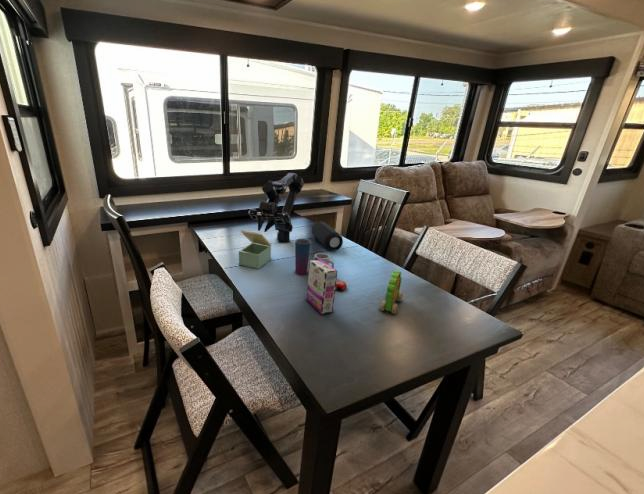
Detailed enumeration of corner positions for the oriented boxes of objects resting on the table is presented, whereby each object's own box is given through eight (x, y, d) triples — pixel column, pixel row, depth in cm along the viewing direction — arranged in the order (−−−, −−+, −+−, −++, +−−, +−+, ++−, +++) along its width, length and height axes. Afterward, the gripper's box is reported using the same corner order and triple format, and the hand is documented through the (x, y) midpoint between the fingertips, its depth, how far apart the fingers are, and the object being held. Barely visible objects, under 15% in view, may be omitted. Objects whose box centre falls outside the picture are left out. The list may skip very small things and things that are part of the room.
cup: (310, 271, 141) (313, 240, 136) (305, 277, 136) (307, 245, 130) (296, 268, 144) (298, 237, 138) (291, 273, 138) (292, 242, 132)
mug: (310, 269, 143) (311, 255, 141) (319, 264, 148) (320, 252, 145) (329, 276, 137) (330, 262, 134) (337, 271, 141) (338, 258, 139)
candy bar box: (333, 312, 110) (338, 270, 104) (321, 315, 108) (325, 272, 102) (317, 297, 120) (320, 258, 114) (306, 299, 118) (308, 260, 112)
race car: (348, 287, 128) (349, 278, 126) (344, 292, 123) (345, 284, 122) (317, 279, 133) (318, 271, 132) (313, 285, 129) (313, 276, 127)
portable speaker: (343, 251, 164) (345, 233, 160) (325, 252, 162) (327, 234, 158) (325, 235, 187) (326, 219, 183) (309, 236, 185) (310, 220, 181)
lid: (261, 235, 138) (261, 234, 138) (240, 231, 142) (241, 230, 142) (270, 246, 150) (271, 244, 150) (251, 242, 154) (252, 241, 154)
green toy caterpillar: (387, 295, 122) (394, 260, 116) (402, 299, 119) (409, 263, 114) (377, 314, 109) (384, 276, 104) (393, 319, 107) (401, 280, 101)
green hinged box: (258, 268, 142) (258, 255, 140) (238, 264, 146) (238, 251, 144) (270, 259, 153) (271, 246, 150) (251, 255, 157) (251, 242, 154)
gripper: (250, 192, 152) (238, 220, 147) (284, 197, 144) (274, 226, 139) (257, 205, 161) (247, 231, 156) (290, 209, 154) (280, 237, 149)
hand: (261, 231), depth 150 cm, fingers open, 3 cm apart
